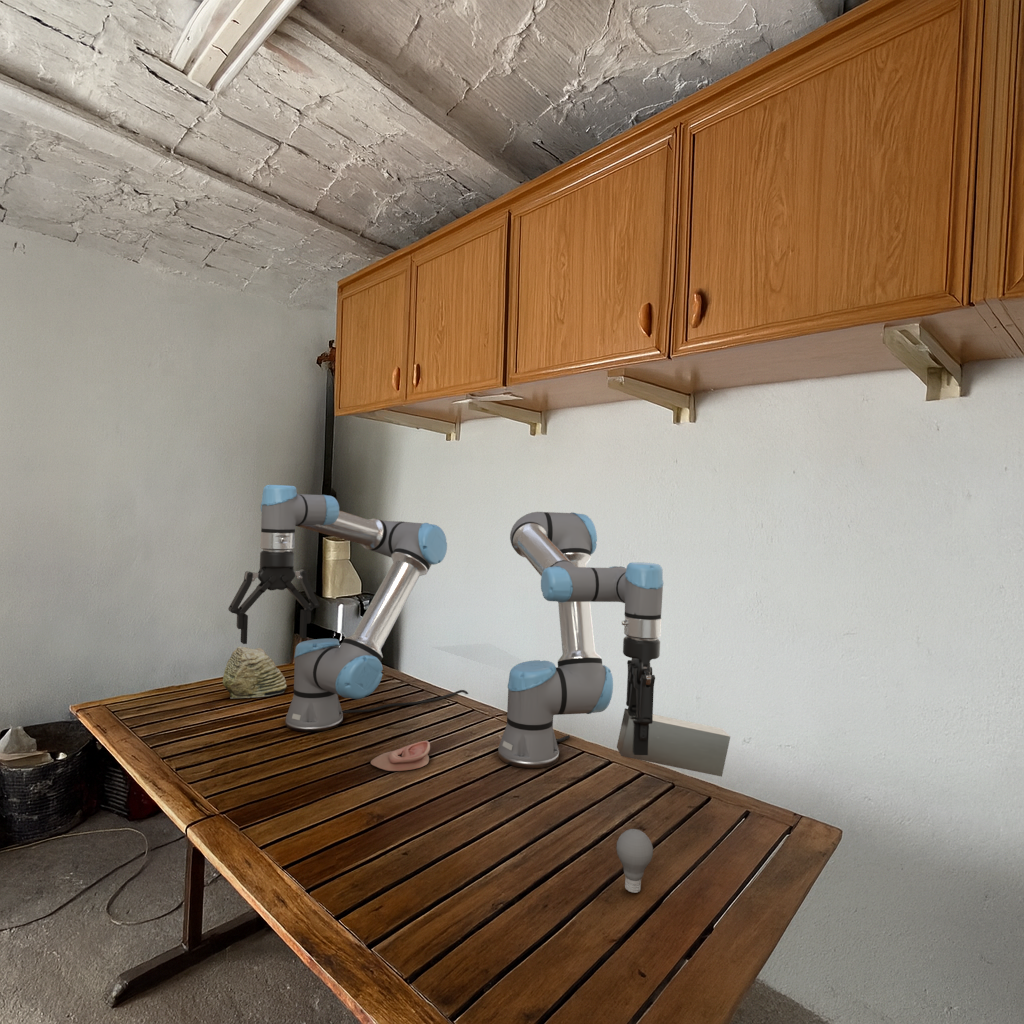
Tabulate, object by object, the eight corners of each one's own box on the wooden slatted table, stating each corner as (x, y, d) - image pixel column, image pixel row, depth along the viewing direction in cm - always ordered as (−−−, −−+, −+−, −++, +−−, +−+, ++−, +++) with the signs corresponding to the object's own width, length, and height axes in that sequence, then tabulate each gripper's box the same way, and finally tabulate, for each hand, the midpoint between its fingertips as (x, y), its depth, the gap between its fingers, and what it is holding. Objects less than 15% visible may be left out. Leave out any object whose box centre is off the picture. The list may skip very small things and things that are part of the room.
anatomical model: (365, 751, 148) (384, 733, 160) (364, 767, 148) (384, 749, 160) (419, 758, 146) (435, 740, 157) (418, 775, 146) (434, 756, 157)
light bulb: (610, 879, 108) (613, 822, 108) (644, 879, 109) (647, 822, 109) (619, 902, 102) (622, 840, 102) (655, 901, 103) (658, 840, 103)
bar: (713, 767, 134) (722, 728, 134) (722, 776, 130) (730, 736, 130) (616, 747, 134) (624, 708, 134) (621, 756, 129) (629, 715, 129)
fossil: (218, 695, 195) (220, 647, 195) (278, 685, 208) (279, 640, 207) (228, 703, 189) (230, 653, 188) (289, 692, 201) (290, 645, 201)
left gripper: (224, 552, 139) (220, 648, 139) (334, 551, 154) (331, 638, 154) (216, 549, 145) (213, 641, 145) (323, 548, 160) (320, 632, 160)
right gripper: (615, 628, 140) (610, 733, 140) (634, 646, 122) (629, 766, 122) (648, 629, 141) (644, 734, 141) (672, 647, 123) (667, 767, 123)
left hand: (274, 640), depth 150 cm, fingers open, 13 cm apart
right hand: (637, 748), depth 132 cm, fingers closed on bar, 5 cm apart
